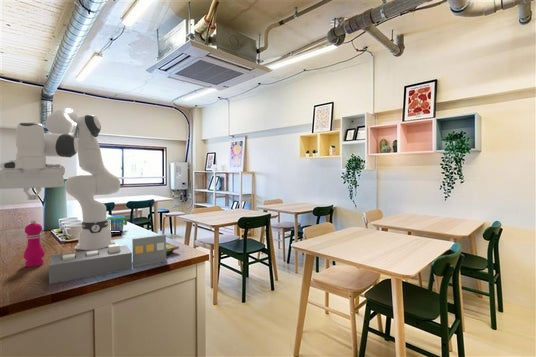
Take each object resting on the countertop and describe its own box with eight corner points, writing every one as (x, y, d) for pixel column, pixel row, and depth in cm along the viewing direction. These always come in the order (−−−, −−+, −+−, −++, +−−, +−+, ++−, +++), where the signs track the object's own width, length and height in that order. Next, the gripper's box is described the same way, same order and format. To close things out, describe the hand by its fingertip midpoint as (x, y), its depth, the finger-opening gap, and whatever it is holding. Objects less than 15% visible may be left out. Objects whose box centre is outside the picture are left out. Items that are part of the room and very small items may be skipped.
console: (51, 272, 116) (51, 255, 116) (127, 260, 132) (126, 245, 132) (49, 284, 104) (48, 265, 104) (132, 268, 120) (131, 252, 120)
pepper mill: (32, 262, 129) (30, 218, 128) (48, 261, 129) (47, 218, 128) (19, 267, 121) (17, 221, 121) (37, 267, 122) (35, 221, 121)
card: (132, 264, 126) (131, 237, 126) (164, 258, 134) (164, 233, 134) (134, 267, 122) (133, 240, 122) (167, 261, 130) (166, 235, 129)
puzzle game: (157, 238, 155) (178, 244, 142) (158, 246, 155) (178, 253, 142) (136, 242, 146) (157, 249, 133) (136, 251, 146) (157, 259, 133)
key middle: (86, 262, 119) (86, 251, 118) (97, 260, 121) (97, 250, 121) (86, 265, 115) (86, 254, 115) (98, 263, 117) (98, 252, 117)
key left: (63, 266, 114) (62, 255, 114) (75, 264, 116) (74, 253, 116) (62, 269, 111) (62, 257, 111) (75, 267, 113) (74, 256, 113)
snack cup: (121, 228, 198) (121, 214, 197) (132, 230, 193) (131, 215, 192) (100, 233, 184) (99, 218, 183) (110, 235, 179) (110, 219, 178)
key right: (108, 255, 123) (108, 245, 123) (118, 253, 125) (118, 243, 125) (109, 257, 120) (109, 247, 119) (119, 255, 122) (119, 245, 122)
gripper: (64, 164, 118) (65, 197, 119) (-2, 163, 107) (-1, 200, 107) (64, 164, 113) (65, 198, 113) (-6, 164, 101) (-5, 202, 102)
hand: (32, 199), depth 110 cm, fingers closed
